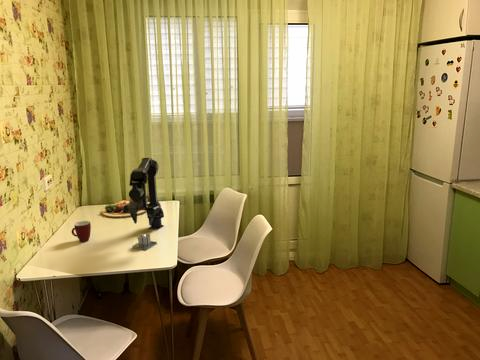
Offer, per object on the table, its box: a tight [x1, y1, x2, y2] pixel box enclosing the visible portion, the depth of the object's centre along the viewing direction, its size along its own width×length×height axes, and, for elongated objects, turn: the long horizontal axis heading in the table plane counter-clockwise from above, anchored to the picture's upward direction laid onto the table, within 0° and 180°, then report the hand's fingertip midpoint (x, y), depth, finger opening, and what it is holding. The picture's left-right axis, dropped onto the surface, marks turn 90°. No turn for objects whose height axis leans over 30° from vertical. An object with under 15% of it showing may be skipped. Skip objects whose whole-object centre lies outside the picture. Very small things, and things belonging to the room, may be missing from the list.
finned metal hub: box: [131, 233, 158, 251], centre depth 204 cm, size 9×9×6 cm
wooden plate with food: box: [100, 198, 149, 219], centre depth 266 cm, size 32×32×8 cm
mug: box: [71, 220, 92, 243], centre depth 213 cm, size 10×8×10 cm
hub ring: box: [137, 233, 152, 246], centre depth 204 cm, size 6×6×4 cm
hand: (142, 224), depth 202 cm, fingers open, 9 cm apart
